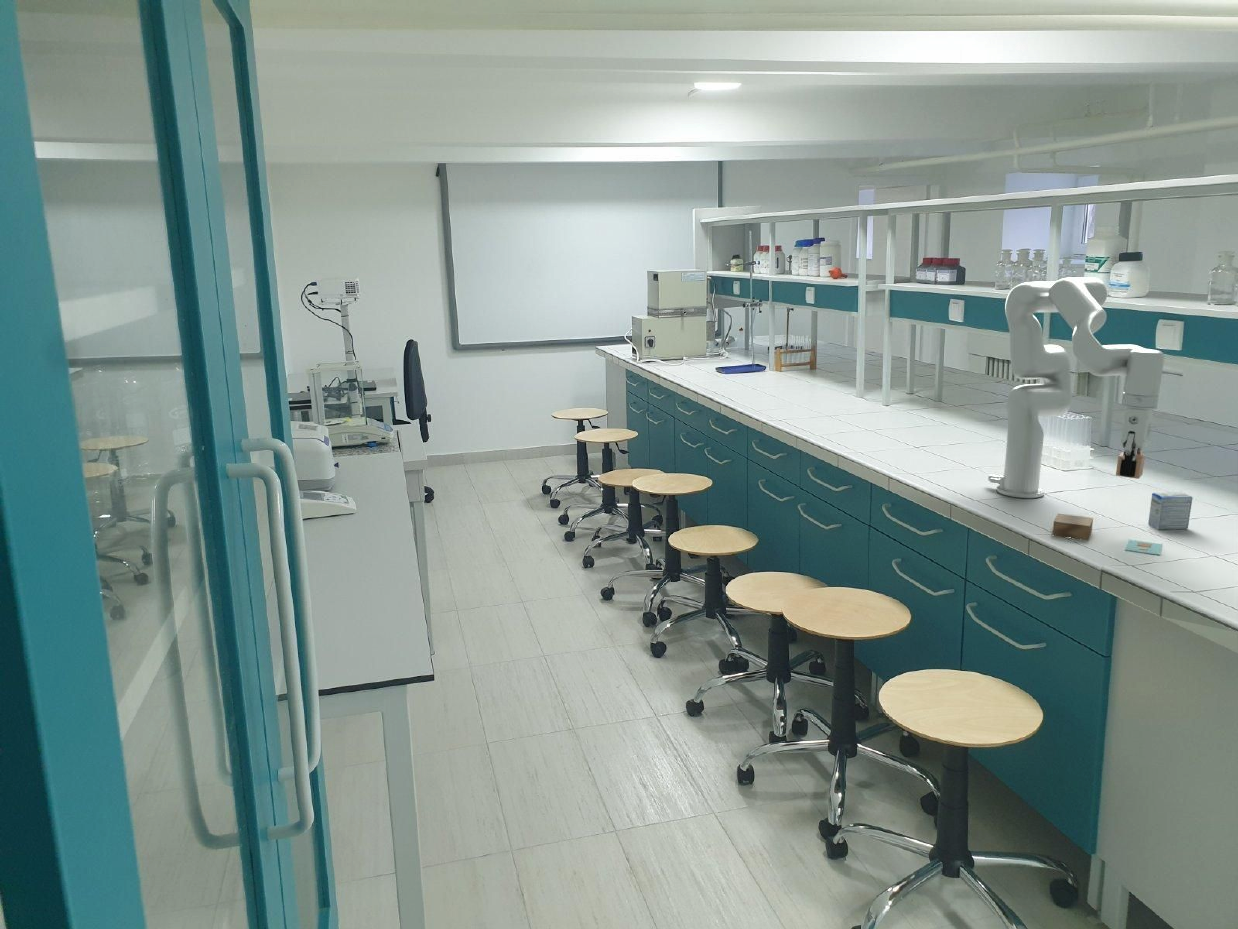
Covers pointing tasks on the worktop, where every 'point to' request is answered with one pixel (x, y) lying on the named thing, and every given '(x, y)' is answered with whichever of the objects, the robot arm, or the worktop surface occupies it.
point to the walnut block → (1072, 526)
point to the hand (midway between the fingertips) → (1129, 472)
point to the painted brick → (1139, 465)
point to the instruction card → (1143, 547)
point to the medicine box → (1170, 510)
